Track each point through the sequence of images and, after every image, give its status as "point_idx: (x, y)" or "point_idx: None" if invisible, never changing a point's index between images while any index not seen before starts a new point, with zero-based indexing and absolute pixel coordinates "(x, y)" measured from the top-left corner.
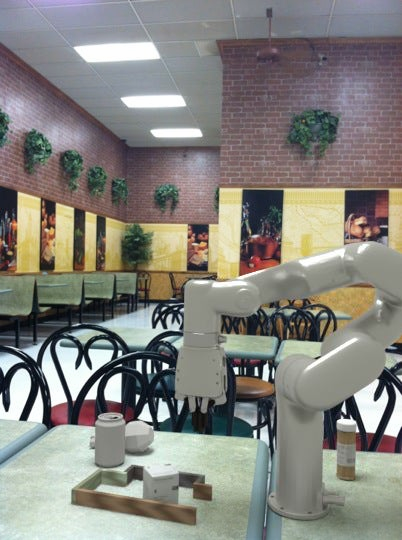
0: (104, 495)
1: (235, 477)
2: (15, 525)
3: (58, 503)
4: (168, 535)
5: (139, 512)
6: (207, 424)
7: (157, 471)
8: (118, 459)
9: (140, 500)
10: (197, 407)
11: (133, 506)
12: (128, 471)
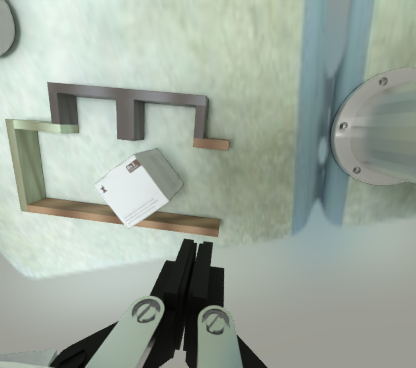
0: (75, 217)
1: (262, 21)
2: (21, 261)
3: None
4: None
5: None
6: (223, 271)
7: (127, 205)
8: (3, 36)
9: None
10: (164, 353)
11: None
12: (59, 118)
